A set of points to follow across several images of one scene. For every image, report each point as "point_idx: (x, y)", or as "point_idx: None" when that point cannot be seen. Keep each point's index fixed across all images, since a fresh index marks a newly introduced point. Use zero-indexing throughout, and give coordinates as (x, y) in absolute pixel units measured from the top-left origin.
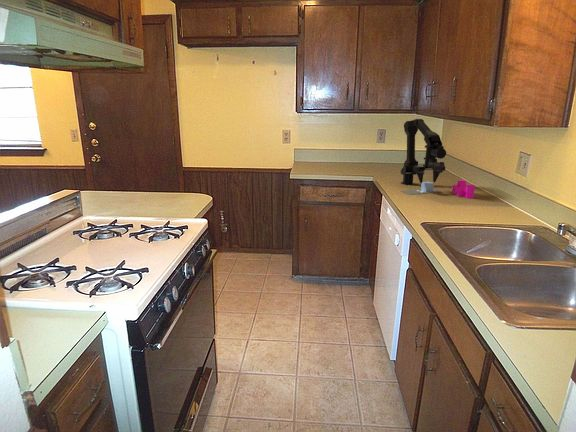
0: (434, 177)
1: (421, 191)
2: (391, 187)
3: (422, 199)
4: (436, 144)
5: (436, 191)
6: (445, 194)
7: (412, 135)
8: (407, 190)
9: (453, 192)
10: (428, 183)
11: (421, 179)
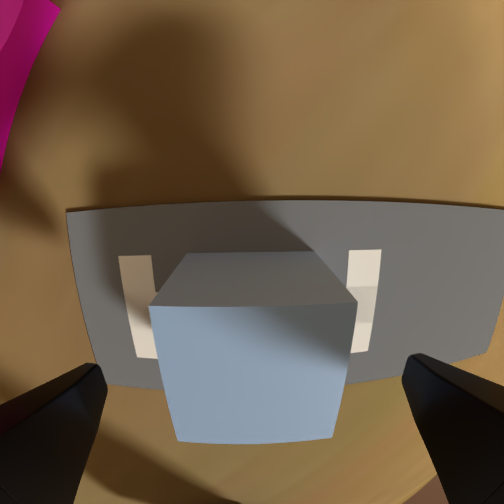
0: (61, 448)
1: None
2: (427, 456)
3: (492, 26)
4: None
5: (134, 245)
6: (119, 79)
7: None
8: None
9: (1, 148)
10: (302, 312)
11: (483, 379)
